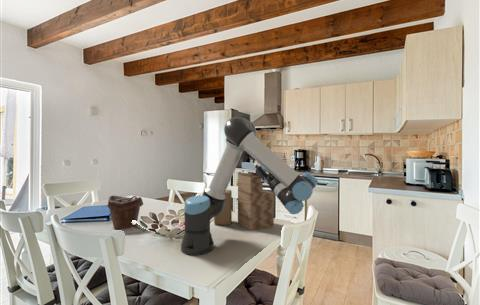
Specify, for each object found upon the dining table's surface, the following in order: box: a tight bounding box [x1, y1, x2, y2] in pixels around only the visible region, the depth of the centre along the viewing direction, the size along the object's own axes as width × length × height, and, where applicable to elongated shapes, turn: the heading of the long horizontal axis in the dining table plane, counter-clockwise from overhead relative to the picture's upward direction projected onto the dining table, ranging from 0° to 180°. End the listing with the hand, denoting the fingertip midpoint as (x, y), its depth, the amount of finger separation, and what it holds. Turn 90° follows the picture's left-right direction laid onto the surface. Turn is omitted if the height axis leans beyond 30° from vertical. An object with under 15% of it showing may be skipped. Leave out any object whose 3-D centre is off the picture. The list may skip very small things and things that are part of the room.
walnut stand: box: [237, 171, 275, 231], centre depth 151 cm, size 16×16×32 cm
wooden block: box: [213, 189, 233, 226], centre depth 153 cm, size 10×10×20 cm
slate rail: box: [241, 161, 269, 173], centre depth 143 cm, size 4×26×4 cm, turn 27°
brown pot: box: [107, 195, 144, 229], centre depth 149 cm, size 18×20×18 cm
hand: (258, 162), depth 140 cm, fingers closed on slate rail, 3 cm apart
